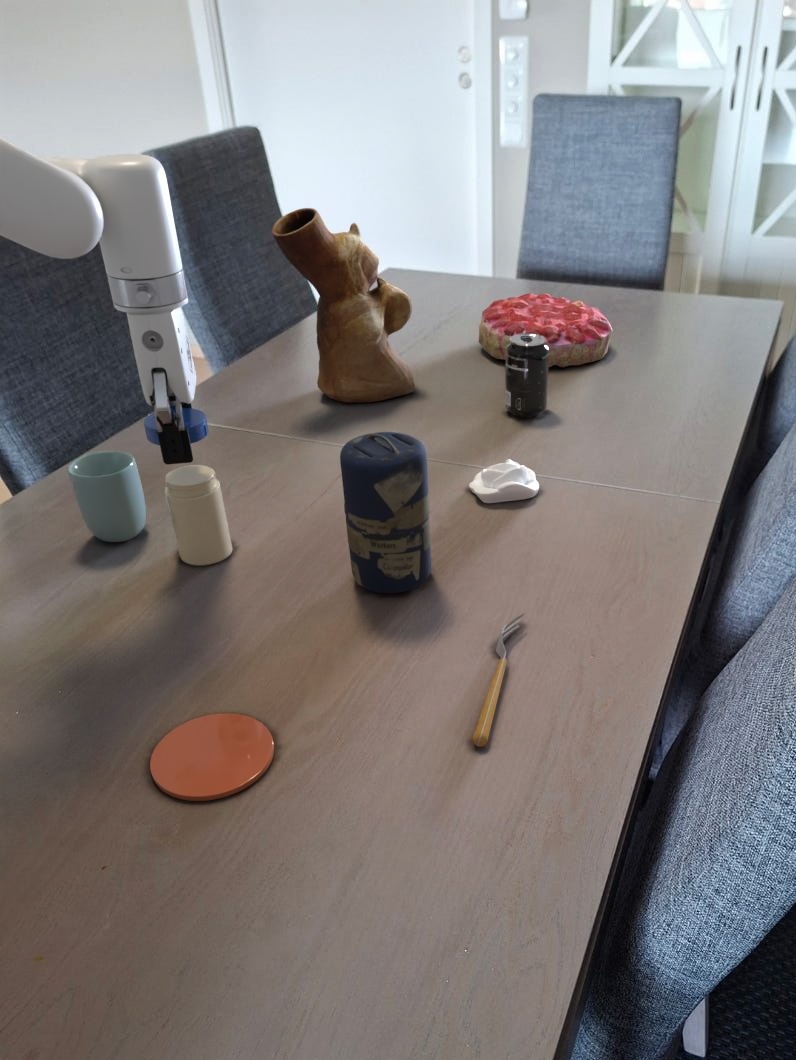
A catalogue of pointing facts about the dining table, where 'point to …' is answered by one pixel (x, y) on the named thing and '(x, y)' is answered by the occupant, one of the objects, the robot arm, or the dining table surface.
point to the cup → (109, 494)
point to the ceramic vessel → (348, 309)
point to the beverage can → (526, 375)
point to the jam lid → (192, 421)
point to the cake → (547, 327)
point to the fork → (493, 689)
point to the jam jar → (198, 515)
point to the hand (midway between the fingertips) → (180, 447)
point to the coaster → (212, 757)
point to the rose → (505, 483)
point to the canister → (387, 510)
